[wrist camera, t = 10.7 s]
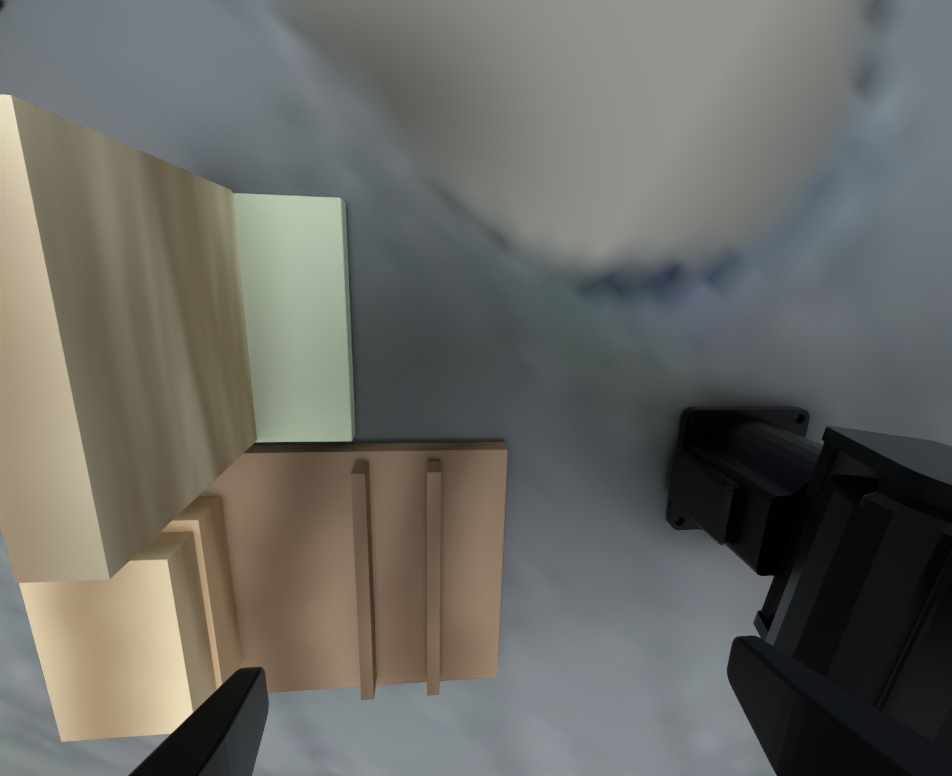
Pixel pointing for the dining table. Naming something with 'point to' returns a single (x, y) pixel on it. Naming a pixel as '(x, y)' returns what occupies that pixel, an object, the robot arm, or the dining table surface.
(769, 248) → the dining table surface
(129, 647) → the pine offcut
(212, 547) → the oak offcut
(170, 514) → the birch board
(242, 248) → the sage pad
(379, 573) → the walnut stand
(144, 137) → the dining table surface
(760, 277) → the dining table surface
